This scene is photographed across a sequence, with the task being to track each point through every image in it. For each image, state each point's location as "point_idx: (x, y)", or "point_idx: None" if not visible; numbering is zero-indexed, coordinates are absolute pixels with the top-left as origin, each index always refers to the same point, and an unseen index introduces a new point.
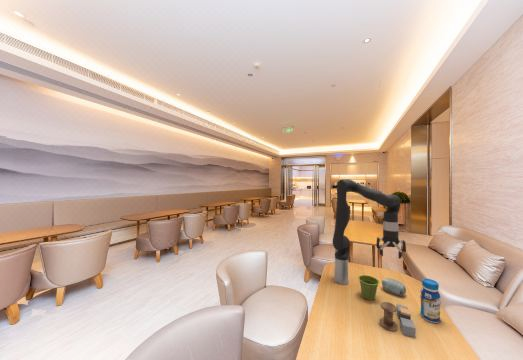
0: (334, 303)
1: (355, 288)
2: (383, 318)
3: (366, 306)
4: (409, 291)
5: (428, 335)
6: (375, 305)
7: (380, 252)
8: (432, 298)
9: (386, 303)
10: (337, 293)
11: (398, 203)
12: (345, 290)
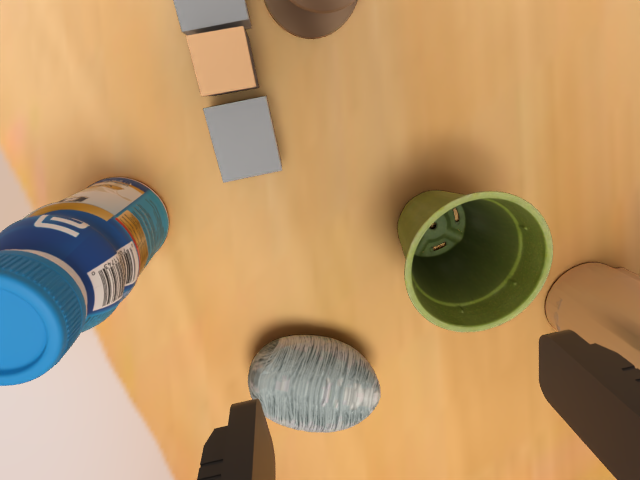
0: (612, 14)
1: None
2: (339, 20)
3: (433, 111)
4: None
5: (116, 34)
6: (388, 157)
7: (637, 377)
8: (35, 216)
9: None
10: (599, 145)
11: None
12: (555, 211)
